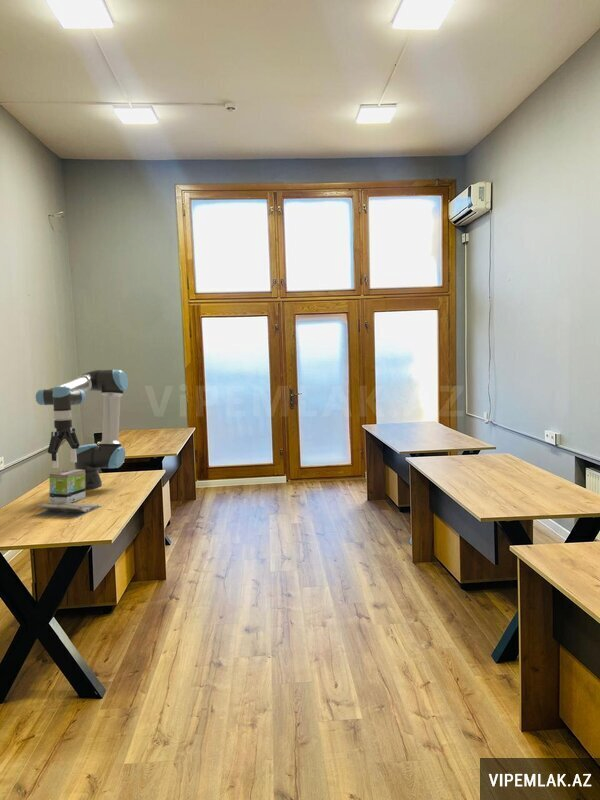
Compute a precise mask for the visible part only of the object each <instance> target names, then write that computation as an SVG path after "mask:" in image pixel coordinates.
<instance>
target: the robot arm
mask: <svg viewBox="0 0 600 800" xmlns="http://www.w3.org/2000/svg"><path fill="white" fill-rule="evenodd" d="M128 387H129V379H128V376H127V374H126V373H125V372H124V371H123V370H121V369H97V370H96V369H95V370H91V371H87V372H85V373H82V374H80V375H77V377H76V378H74V379H72V380H69V381H66V382H64V383H62V384H59V385H56V386H54V387H51V388H49V389H46V388H45V389H44V388H43V389H39V390H37V391H36V394H35V401H36V403H37V404H38V405H42V406H53V419H54V421H53V425H54V429H56V431H51V433H50V441H49V446H48V449H47V453H48V454H49V455H51V461H52V465H51V466H52V468H53V469H58V468H59V469H60V466H59V453H58V451H59V449H60V446H61V444H62V442H63V441H65V440H66V441H67V443H68V444H69V446H70V449H69V452H70V463H74V469H79V470H85V490H92V489H96V488H100V487H102V486H103V481H102V479H101V476H100V473H99V469H118V468H120V467H122V465H123V463H124V462H125V459H126V449H125V448H124V447H123V446H122V442H120V414H121V398H122V396H124V392H125V391H127V390H128ZM94 391H95V392H100V394H101V396H103V409H102V410H103V413H102V434H101V441H100V442H98V444H97V443H90V444H88V443H87V444H83V445H80V443H79V439H78V437H77V434H76V429H75V428H73V422H72V420H73V419H72V418H73V417H72V416H73V414H72V406H77V405H81V404H83V403H84V402H85V401H86V398H87V396H86V393H88V392H94Z"/></svg>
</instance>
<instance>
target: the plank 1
mask: <svg viewBox="0 0 600 800" xmlns="http://www.w3.org/2000/svg"><path fill="white" fill-rule="evenodd" d="M37 506H38V507H39V508H42V509H44V510H45V509H46V510H57V511H66V510H64V509H61V508H58V507H57V506H58V505H57V504H50V503H40V502H38V503H37Z"/></svg>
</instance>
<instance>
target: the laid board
mask: <svg viewBox="0 0 600 800" xmlns="http://www.w3.org/2000/svg"><path fill="white" fill-rule="evenodd" d="M57 505H77V506H79V507H82V508H84V509H87V511H86V512H89V511H91V510H93V509H95V508H98V506H99V504H95V503H94V504H93V503H74V502H71V503H59V504H57ZM98 509H99V508H98ZM93 511H94V510H93ZM91 512H92V511H91ZM89 513H90V512H89Z"/></svg>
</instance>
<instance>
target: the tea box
mask: <svg viewBox="0 0 600 800" xmlns="http://www.w3.org/2000/svg"><path fill="white" fill-rule="evenodd" d="M85 498H86V489H85V470H79V469H75V468H67V469H62V470H59V471H56V472H53V473H49V504H59V503H74V502H77V501H80V500H82V499H85Z"/></svg>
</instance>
